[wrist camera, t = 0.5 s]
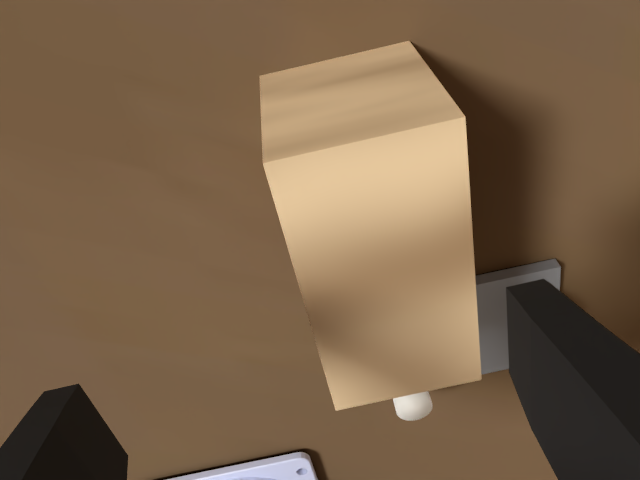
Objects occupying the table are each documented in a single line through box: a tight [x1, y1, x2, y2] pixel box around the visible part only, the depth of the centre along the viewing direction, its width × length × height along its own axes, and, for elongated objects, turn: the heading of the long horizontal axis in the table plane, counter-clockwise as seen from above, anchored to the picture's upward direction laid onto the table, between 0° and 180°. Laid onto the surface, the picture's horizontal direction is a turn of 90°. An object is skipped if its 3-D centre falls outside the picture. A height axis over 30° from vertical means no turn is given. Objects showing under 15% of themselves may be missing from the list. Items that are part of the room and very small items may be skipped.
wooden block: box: [260, 41, 482, 411], centre depth 17 cm, size 8×4×6 cm, turn 12°
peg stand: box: [393, 259, 561, 421], centre depth 23 cm, size 5×7×2 cm
